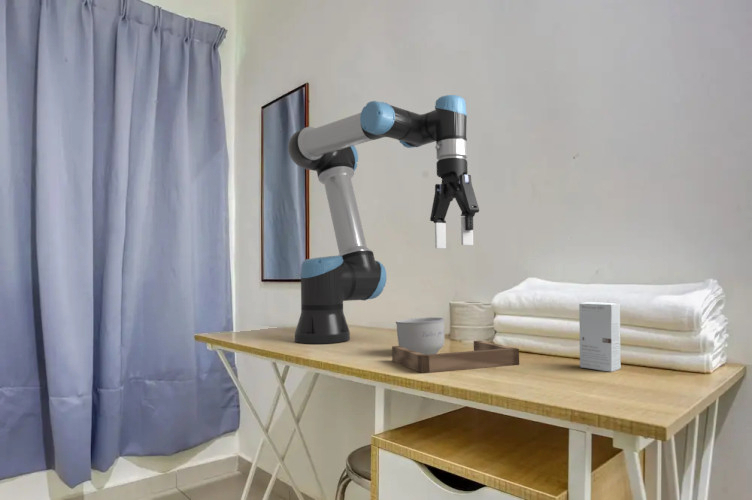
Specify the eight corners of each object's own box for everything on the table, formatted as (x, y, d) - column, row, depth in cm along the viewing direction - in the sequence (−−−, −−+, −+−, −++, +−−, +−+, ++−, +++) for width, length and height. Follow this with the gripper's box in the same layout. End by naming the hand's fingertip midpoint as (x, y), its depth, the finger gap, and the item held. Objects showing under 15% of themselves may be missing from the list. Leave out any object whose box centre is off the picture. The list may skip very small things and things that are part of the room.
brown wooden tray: (392, 361, 101) (392, 346, 101) (479, 354, 108) (479, 340, 108) (422, 373, 88) (421, 356, 88) (519, 364, 95) (518, 348, 95)
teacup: (428, 360, 102) (428, 321, 102) (386, 355, 108) (386, 319, 109) (460, 351, 113) (459, 316, 113) (420, 347, 119) (419, 314, 120)
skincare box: (579, 368, 91) (576, 302, 91) (589, 364, 94) (587, 301, 94) (613, 372, 86) (610, 303, 87) (623, 369, 89) (620, 302, 90)
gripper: (416, 169, 130) (418, 249, 129) (464, 146, 107) (466, 243, 106) (441, 171, 133) (443, 249, 132) (493, 148, 110) (495, 243, 109)
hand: (453, 246), depth 119 cm, fingers open, 12 cm apart
